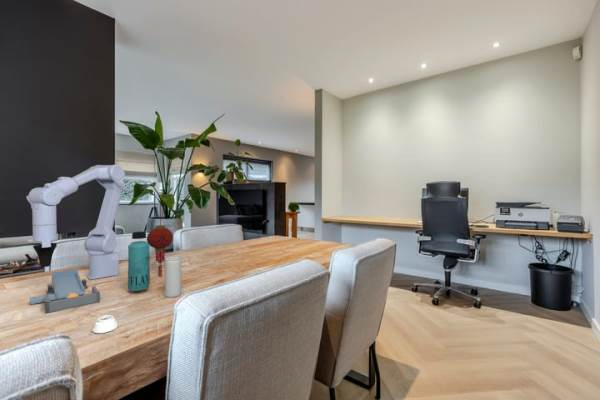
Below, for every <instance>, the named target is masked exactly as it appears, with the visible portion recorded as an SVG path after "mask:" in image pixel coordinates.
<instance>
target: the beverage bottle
mask: <svg viewBox="0 0 600 400" xmlns="http://www.w3.org/2000/svg"><path fill="white" fill-rule="evenodd" d="M131 234H132V235H131V239H134V240H136V241H132V242H130V244H128V246H127V248H128V250H127V251H128V252H127V253H128V254H127V255H128V256H127V257H128V258H127V260H128V263H127V264H128V265H127V267H128V268H127V289H128V290H129V291H132V292H133V291H142V290H147V288H149V287H150V284H151V282H150V280H151V275H150V272H151V270H150V269H151V268H150V263H151V260H150V259H151V257H150V254H151V253H150V247H151V246H150V244H149V243H148V242H147V240H145V241H144V240H142V239H147V233H146V231H133V232H132V233H131ZM137 240H139V241H137Z"/></svg>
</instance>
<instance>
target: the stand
mask: <svg viewBox="0 0 600 400" xmlns="http://www.w3.org/2000/svg"><path fill="white" fill-rule="evenodd" d="M81 281H82V284H83V286H84V288H85V290H88V288H89V287H88V285H87V279H86V278H83V279H81ZM45 293H46V294H48V295H49V294H54V290H53V284H47V290H46V291H45ZM46 294H45V295H46Z"/></svg>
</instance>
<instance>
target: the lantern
mask: <svg viewBox="0 0 600 400" xmlns="http://www.w3.org/2000/svg"><path fill="white" fill-rule="evenodd" d="M161 208H162V200H159V225H155V227H154V228H153V229H151V230H150V231H149V232H148V234H147V235H146V242H147V243H149V244H150V246H149V247H151V248H153V249H154V250H155V262H157V263H158V264H159V265H158V266H157V267H158V272H157V273H158V275H157V276H158V277H161V278H162V276H163V272H162V271H163V265H162V263H163V262H165V259H166V258H165V255H166V254H165V252H166V248H167V247H169V246H170V245H172V243H173V240H174V234H173V232H172V231H171V230H170V229H168V228H167V227H166V225H162V223H161V222H162V221H161V220H162V219H161V217H162V216H161V215H162V213H161V212H162V209H161Z"/></svg>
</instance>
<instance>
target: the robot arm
mask: <svg viewBox="0 0 600 400" xmlns="http://www.w3.org/2000/svg"><path fill="white" fill-rule="evenodd" d="M125 176H126V173H125V171H124V169H123V168H122V166H121V165H119V164H107V165H106V164H104V165H103V164H96V165H94V166H90V167H89V168H87V169H86V170H84V171H82V172H81V173H79V174H77V175H74V176H72V177H69V176H60V177H57V180H55V181H53V182H51V183H50V182H49V183H48V182H47V183H45V184H44V186H43V187H35V188H34V187H33V189H31V190H30V191H29V193H28V195H26V200H27V201H28V202H29V204H30V208H31V210H32V211H31V212H32V213H31V215H32V219H31V220H32V238H28V239H27V243H36V244H35V245H33V246H32V248H33V249H34V251H35V252H36V254H37V258H38V262H39V266H40V268H47V267H51V263H52V259H53V255H54V252H55V250H56V248H58V247H57V246H58V245H57V243H56V241H58V236H57V230H58V229H57V205H58V204H60V202H61V201H62V199H64V198H65V197H67V196H69V195H71V194H73V193H75V192H77V191H78V189H79V186H81V185H84V184H86V183H88V182H91V181H94V180H95V181H97V182H98V183H99V184H100V185H101V186H102V187H103V188H104V189H105V194H104V197H103V200H102V204H101V207H100V211H99V215H98V219H97V221H96V225H95V227H94V228H93V229H92V230H90V231H89V233H88V235H87V237H86V238H85V239H84V241H83V247H84V250H85V251H86V252H87V254H88V273H86V277H87V278H88V280H95V279H102V278H108V277H113V276H119V275H120V273H119V272H120V271H119V263H120V262H119V254H118V252H117V251H115V249H116V247H117V237H118V235H117V233H116V232H115V231H114V230H113V228H114V224H115V220H116V217H117V213H118V208H119V205H120V201H121V197H122V193H123V189H124V179H125Z"/></svg>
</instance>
